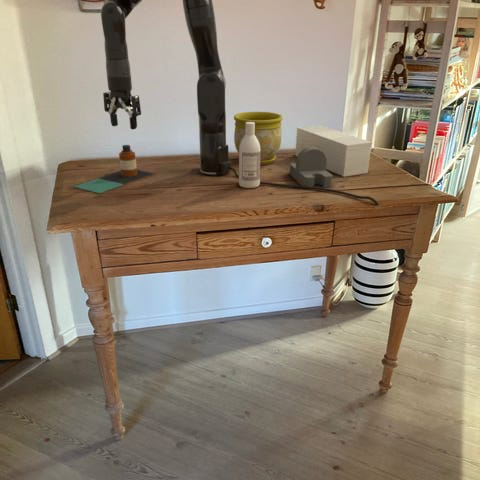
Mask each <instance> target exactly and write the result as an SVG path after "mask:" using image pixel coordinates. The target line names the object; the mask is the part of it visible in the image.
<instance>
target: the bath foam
mask: <svg viewBox="0 0 480 480" xmlns="http://www.w3.org/2000/svg"><path fill="white" fill-rule="evenodd" d="M260 153H261V150H260V144H259V142H258V140H257V138H256V136H255V123H254V122H246V124H245V136H244V138H243V139H242V141H241V143H240V147H239V153H238V176H239V178H238V185H239V186H240V187H241V188H244V189H256V188H258V187H259V186H260V185H261V184H260V182H261V165H260Z"/></svg>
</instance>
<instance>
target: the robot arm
mask: <svg viewBox="0 0 480 480" xmlns="http://www.w3.org/2000/svg"><path fill="white" fill-rule="evenodd" d="M142 2H143V0H106V2H105V3H104V4H102V6H101V9H100V19H101V25H102V32H103V39H104V42H103V43H104V44H103V45H104V46H103V47H104V54H105V55H104V57H105V71H106V78H107V80H106V81H107V89H108V91H106V92H103V94H102V95H103V96H102V97H103V109H104V110H103V111H104V112H106V113H108V115H109V117H110V124H111V126H112V127H118V126H119V125H118V124H119V121H118V114H117V111H118V110H119V109H121V110H124V112H126V113H127V114H128V116H129V128H130V130H136V129H137V128H138V119H137V118H138V116H141V115H142V108H141V102H140V96H139V95H132V90H133V84H132V74H131V65H130V64H131V63H130V59H129V48H128V42H127V32H126V30H127V29H126V19H127V18H128V17H129V15H130V14H131V13H132V11H133V10H134V9H135V8H136V7H137V6H138V5H140V3H142ZM181 2H182V8H183V13H184V18H185V23H186V28H187V31H188V35H189V39H190V41H191V43H192V46H193V49H194V52H195V56H196V61H197V71H198V72H197V73H198V79H197V82H196V83H197V84H196V103H197V104H196V105H197V115H198V133H199V135H198V136H199V137H198V138H199V158H198V159H199V164H200V166H199V167H200V173H201V174H202V175H204V176H217V177H218V176H219V177H220V176H222V175H225V174H227V173H229V171H232V172H233V173H234V176H235V177H236V178H237V179H239V174H238V172H237V170H236V169H235V168H233V162H232V161H230V160H229V157H230V156H229V145H228V144H227V114H226V88H227V82H226V78H225V74H224V71H223V68H222V63H221V60H220V59H221V58H220V55H219V49H218V33H217V23H216V16H215V9H214V3H213V0H181ZM260 185H266V186H274V187H284V188H295V189H307V190H315V191H324V192H330V193H336V194H341V195H344V196H348V197H352V198H355V199H360V200H370V201H372V202H373V203H374V204H375V205H376V206H380V204H379V202H378V201H377V200H376V199H375V198H373V197H372V196H366V195H365V196H364V195H357V194H354V193H350V192H346V191H341V190H337V189H332V188H327V187H318V186H314V187H310V186H302V185H297V184H285V183H275V182H267V181H266V182H265V181H260Z"/></svg>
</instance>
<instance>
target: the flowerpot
mask: <svg viewBox="0 0 480 480" xmlns="http://www.w3.org/2000/svg"><path fill="white" fill-rule="evenodd" d="M283 118H284V117H283V115H282V114H281V113H276V112H271V111H245V112H238V113H236V114H235V115H233V120H234V122H235V123H234V134H233V141H234V147H235V150H236V151H237V153H238V154H239V147H240V143H241V141H242V139H243V138H244V136H245V124H246V122H254V123H255V136H256V138H257V140H258V142H259V144H260V150H261V153H260V166H265V165H269V164H270V165H271V164H272V163H274V161H275V160H276V158H277V156H276V155H277V154H278V152H279V150H280V148H281V144H282V121H283Z"/></svg>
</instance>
